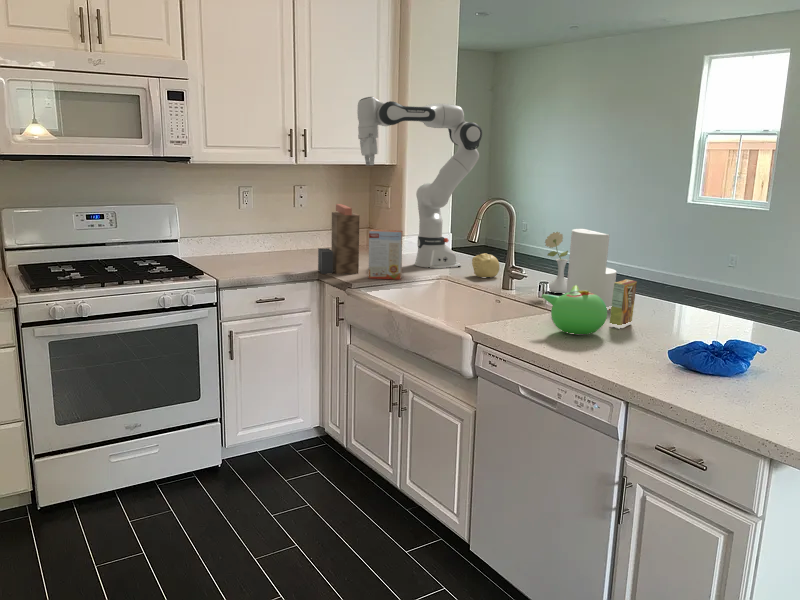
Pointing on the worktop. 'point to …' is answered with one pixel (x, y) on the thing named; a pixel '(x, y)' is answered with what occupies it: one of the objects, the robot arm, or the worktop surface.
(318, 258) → the domino
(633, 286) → the candy box
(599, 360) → the worktop surface
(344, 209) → the bar
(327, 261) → the domino
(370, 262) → the cracker box
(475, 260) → the pale yellow lumpy ball
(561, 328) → the round teapot
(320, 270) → the domino
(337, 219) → the walnut stand
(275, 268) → the worktop surface
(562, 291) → the flower in vase
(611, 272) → the cylinder
